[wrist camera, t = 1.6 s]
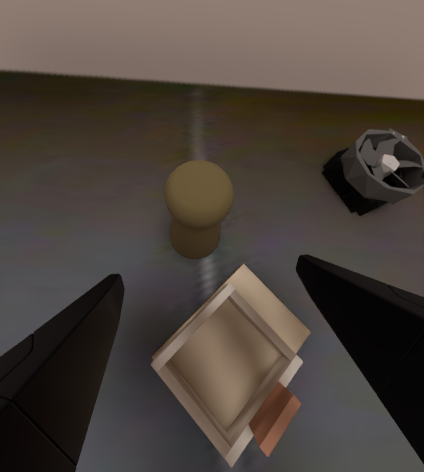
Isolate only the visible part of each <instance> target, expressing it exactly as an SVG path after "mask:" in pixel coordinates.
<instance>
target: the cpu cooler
mask: <svg viewBox="0 0 424 472" xmlns="http://www.w3.org/2000/svg"><path fill="white" fill-rule="evenodd" d="M407 139H408V137H406V136H404V135H402V134H400V133H398V132H396V131H394V130H392V129H388V130H387V131H385V130H371V129H369V130H367V131H366V132H365V133H364V134H363V135H362V136H361V137H360V138H359V139H358V140H357V141H356V142H355V143H354V144H353V145H352V146H351V147H350V148H347V149H345V150H342V151H339V152H337V153H336V154H335V155H334V156H333V157H332V158H331V159H330V160H329V161H328V162H327V163H326V164H325V165H324V166H323V167H324V169H325V171H324V172H323V175H324V176H326V175H327V176H326V179H327V178H328V181H329V183H331V185H332V186H333V185H334V189H335V191H336V189H337V191H339V192H338V195H339V193H340V194H341V193H342V194H341V195H342V196H341V198H342V200H345V199H346V200H347V201H348V204H347V201H346V200H345V202H346V205H347V207H348V205H349V206H350V205H351V206H352V209H353V211H352V209H351V207H350V210H351V212H352V213H353V212H355V211H357V213H358V214H359V215H360V216H361V215H363V214H365V213H367V212H369V211H371V210H373V209H375V208H377V207H379V206H381V205H383V204H385V203H391V204H394V203H396V202H398V201H400V200H402V199H405V198H407V197H409V196H411V195H413V194H414V193H416V192H417V191H418V190H419V189H420V188H421V187H422V186H423V185H424V159H423V157H422V155H421V153H420V152H419V150H417V149H416V148H415V147H414V146H413V145H412V144H411V143H410V142H409V141H408V140H407ZM400 170H401V172H402V175H401V172H400ZM399 173H400V174H399ZM401 178H402V179H401ZM335 187H336V188H335ZM337 191H336V192H337ZM343 192H344V193H343ZM343 194H344V195H343ZM339 196H340V195H339ZM343 198H344V199H343ZM347 198H348V199H347ZM343 202H344V201H343ZM345 202H344V203H345ZM349 202H350V203H349ZM354 203H355V204H354ZM352 204H353V205H354V206H353V205H352ZM355 206H356V207H355ZM353 207H354V208H353ZM354 209H355V210H354Z"/></svg>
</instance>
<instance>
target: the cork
mask: <svg viewBox="0 0 424 472" xmlns="http://www.w3.org/2000/svg"><path fill="white" fill-rule="evenodd" d="M164 196H165V200H166V204H167V208H168V210H169V211H170V213H171V214H172V216H173V219H172V227H171V236H170V238H171V242H172V245H173V247H174V248H175V250H176V251H177V252H178V253H179V254H181V255H182V256H184V257H187V258H189V259H200V258H204V257H207V256H208V255H210V254H211V253H212V252H213V251H214V250H215V249H216V247H217V245H218V242H219V238H220V227H221V221H223V220H224V218H225V217H226V216H227V215H228V214H229V212H230V209H231V207H232V204H233V186H232V183H231V180H230V178H229V177H228V176H227V174H226V173H225V172H224V171H223V169H221V168H220V167H218V166H217V165H216V164H213V163H211V162H208V161H201V160H195V161H188V162H186V163H184V164H182V165H180V166H179V167H177V168H176V169H175V170H174V171H173V172H172V173H171V174H170V176H169V178H168V180H167V182H166V186H165V194H164Z"/></svg>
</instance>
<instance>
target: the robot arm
mask: <svg viewBox="0 0 424 472" xmlns="http://www.w3.org/2000/svg"><path fill="white" fill-rule="evenodd" d="M296 272H297V274H298V276H299V278H300V280H301V281H302V283H303V285H304V287H305V289H306V290H307V292H308V294H309V296H310V297H311V299H312V300H313V302H314V303H315V305H316V306H317V308H318V309H319V311H320V312H321V314H322V315H323V317H324V318H325V320H326V321H327V323H328V324H329V325H330V327H331V328H332V330H333V331H334V333H335V334H336V336H337V337H338V339H339V340H340V342H341V343H342V345H343V346H344V347H345V349H346V350H347V352H348V353H349V355H350V356H351V358H352V359H353V361H354V362H355V364H356V365H357V367H358V368H359V369H360V371H361V372H362V374H363V375H364V377H365V378H366V380H367V381H368V383H369V384H370V386H371V387H372V389H373V390H374V391H375V393H376V394H377V396H378V398H379V399H380V400H381V402H382V403H383V405H384V406H385V408H386V409H387V411H388V412H389V414H390V415H391V417H392V418H393V420H394V421H395V422H396V424H397V425H398V427H399V428H400V430H401V431H402V433H403V434H404V436H405V437H406V439H407V440H408V442H409V443H410V445H411V446H412V447H413V449H414V450H415V452H416V453H417V455H418V456H419V458H420V459H421V461H422V462H423V464H424V297H422V296H419V295H416V294H413V293H410V292H407V291H405V290H402V289H399V288H396V287H394V286H391V285H387V284H385V283H383V282H380V281H377V280H375V279H372V278H369V277H367V276H364V275H361V274H359V273H356V272H353V271H350V270H348V269H345V268H342V267H340V266H337V265H334V264H332V263H329V262H326V261H324V260H321V259H318V258H315V257H313V256H310V255H300V256H299V258H298V262H297V266H296ZM123 297H124V285H123V281H122V278H121V275H120V274H111V275H109V276H107V277H106V278H105V279H103V280H102V281H101V282H99V283H98V284H97V285H95V286H94V287H93V288H91V289H90V290H89V291H87V292H86V293H85V294H84V295H82V296H81V297H80V298H78V299H77V300H76V301H74V302H73V303H72V304H70V305H69V306H68V307H66V308H65V309H64V310H62V311H61V312H60V313H58V314H57V315H56V316H54V317H53V318H52V319H50V320H49V321H48V322H46V323H45V324H44V325H42V326H41V327H40V328H38V329H37V330H36V331H34V334H30V335H29V336H28V337H26V338H25V339H24V340H22V341H21V342H20V343H18V344H17V345H16V346H14V347H13V348H12V349H10V350H9V351H8V352H6V353H5V354H3V355H2V356H1V357H0V472H75V471H76V466H77V463H78V460H79V457H80V453H81V450H82V446H83V443H84V440H85V436H86V433H87V430H88V426H89V423H90V419H91V416H92V413H93V409H94V406H95V403H96V399H97V396H98V392H99V389H100V386H101V382H102V379H103V376H104V372H105V369H106V365H107V362H108V359H109V355H110V352H111V349H112V345H113V342H114V339H115V335H116V332H117V328H118V325H119V320H120V315H121V309H122V303H123Z"/></svg>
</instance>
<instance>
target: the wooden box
mask: <svg viewBox="0 0 424 472" xmlns="http://www.w3.org/2000/svg"><path fill="white" fill-rule="evenodd" d="M310 333H311V332H310V331H309V330H308V329H307V328H306V327H305V326H304V325H303V324H302V323H301V322H300V321H299V320H298V319H297V318H296V317H295V316H294V315H293V314H292V313H291V312H290V311H289V310H288V309H287V308H286V307H285V306H284V305H283V304H282V303H281V301H280V300H279V299H278V298H277V297H276V296H275V295H274V294H273V293H272V292H271V291H270V290H269V289H268V288H267V287H266V286H265V285H264V284H263V283H262V282H261V281H260V280H259V279H258V278H257V277H256V276H255V275H254V274H253V273H252V272H251V271H250V270H249V269H248V268H247V267H246V266H245V265H244V264H243V265H241V266H240V267H239V268H238V269H237V270H236V271H235V272H234V273H233V274H232V275H231V276H230V277H229V278H228V279H227V280H226V281H225V282H224V283H223V284H222V285H221V286H220V287H219V289H218V290H217V291H216V292H215V293H214V294H213V295H212V296H211V297H210V298H209V299H208V300H207V301H206V302H205V303H204V304H203V305H202V306H201V307H200V308H199V309H198V310H197V311H196V312H195V313H194V314H193V315H192V316H191V317H190V318H189V319H188V320H187V321H186V322H185V323H184V324H183V325H182V326H181V327H180V328H179V329H178V330H177V331H176V332H175V333H174V334H173V335H172V336H171V337H170V338H169V339H168V340H167V341H166V342H165V343H164V344H163V346H162V347H161V348H160V349H159V350H158V351H157V352H156V353H155V354H154V355H153V356H152V359H153V361H152V363H151V366H152V367H153V368H154V370H155V371H156V372H157V373H158V375H159V376H160V377H161V378H162V380H163V381H164V382H165V384H166V385H167V386H168V387H169V389H170V390H171V391H172V393H173V394H174V395H175V396H176V398H177V399H178V400H179V401H180V403H181V404H182V405H183V407H184V408H185V409H186V410H187V412H188V413H189V414H190V415H191V417H192V418H193V419H194V421H195V422H196V423H197V424H198V426H199V427H200V428H201V429H202V431H203V432H204V433H205V435H206V436H207V437H208V438H209V440H210V441H211V442H212V444H213V445H214V446H215V447H216V449H217V450H218V451H219V452H220V454H221V455H222V456H223V458H224V459H225V460H226V461H227V463H228V464H229V465H230V466H231V468H232V467H233V465H234V464H235V462H236V461H237V459H238V458H239V456H240V455H241V453H242V452H243V450H244V449H245V447H246V446H247V445H248V443H249V442H250V440H251V439H252V437H253V436H254V437H255V439H256V441H257V443H258V445H259V447H260V448H261V450H262V451H263V452H264V453H265V454H266V456H267V457H269V455H270V453H271V452H272V450H273V449H274V447H275V445H276V444H277V442H278V441H279V439H280V437H281V436H282V434H283V433H284V431H285V429H286V428H287V426H288V425H289V423H290V421H291V420H292V418H293V417H294V415H295V413H296V412H297V410H298V409H299V407H300V405H301V403H300V402H299V401H298V399H297V398H296V397H295V396H294V395H293V394H292V393H291V392H290V391H289V390H287V389H286V387H287V385H288V384H289V382H290V381H291V379H292V378H293V376H294V375H295V373H296V372H297V370H298V369H299V367H300V366H301V364H302V363H303V361H302V360H301V359H300V358H299V357H298V356H297V355H296V353H297V351H298V350H299V348H300V347H301V346H302V344H303V343H304V341H305V340H306V338H307V337H308V336H309V334H310Z"/></svg>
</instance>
